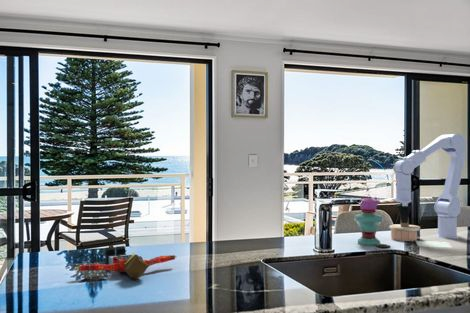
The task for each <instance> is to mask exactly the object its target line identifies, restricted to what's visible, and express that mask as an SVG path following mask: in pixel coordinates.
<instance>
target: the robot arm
mask: <svg viewBox="0 0 470 313" xmlns="http://www.w3.org/2000/svg"><path fill="white" fill-rule="evenodd" d="M466 144H467V140H466V138H465V137H464V135H463V134H461V133H458V132H457V133H450V134H449V133H448V134H441V135H439V136H438V137H436V138H435V139H434V140H433V141H431V142H430V143H428V144H427V145H426V146H425V147H423V148H422V149H421V150H419V149H416V150H415V149H414V150H412V151H411V153H410V154H409V155H407V156H404V157H403V158H402V160H397V161H395V163H394V165H393V167H392V170H393V172H394V174H395V177H396V178H395V179H396V180H395V181H396V182H395V185H396V191H395V192H396V199H395V198H393V202H396V206H397V209H398V213H399V214H398V215H399V219H400V220H399V221H400V223H401V222H402V223H407V222H408V217H409V216H410V212H411V210H412V207H413V206H412V205H411V203H412V180H411V179H412V178H411V177H412V174H413V172H414V171H415V170H414V169H415V168H417V167H419V166H420V165H422V164H423V163H424V162H426V159H427V157H428V156H430V155H431V154H434V153H435V152H437V151H438V150H440V149H441V150H443V151H444V153H445V152H446V154H448V155H449V157H450V160H449V165H448V169H447V172H446V173H447V174H446V178H445V181H444V187H443V191H442V193H441V194H439V195H438V197H437V200H436V201H435V203H434V206H433V209H434V212H435V213H436V216H437V233H435V235H436V236H437V238H439V239H441V238H442V239H460V237H459V236H458V228H457V227H458V225H457V224H458V222H457V220H458V217H459V216H458V215H460V213H461V210H462V208H461V201H462V200H461V199H460V197H459V196H458V194H459V192H458V191H459V188H460V184H461V180H462V175H463V170H464V165H465V162H466V156H467V153H466Z"/></svg>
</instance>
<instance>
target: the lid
mask: <svg viewBox="0 0 470 313" xmlns="http://www.w3.org/2000/svg"><path fill="white" fill-rule="evenodd" d="M409 219H410V218H409V216H408V222H407V223H402V222H401V221H400V224H399V223H397V224H390V225H389V226H388V227H389V230H391V229H392V230H398V231H417V232H418V231H420V230H421V226H419V225H415V224H410V220H409Z"/></svg>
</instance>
